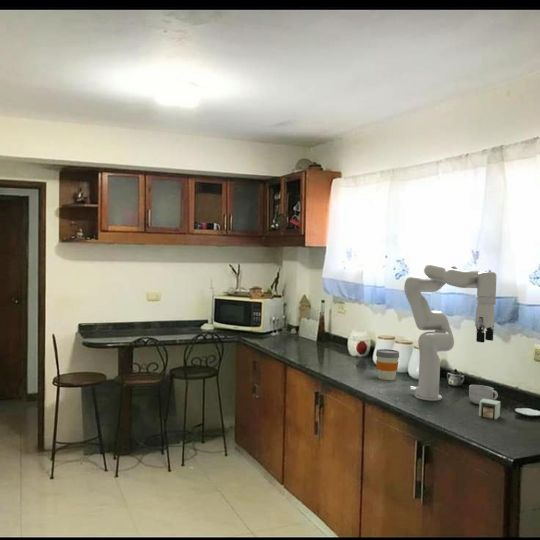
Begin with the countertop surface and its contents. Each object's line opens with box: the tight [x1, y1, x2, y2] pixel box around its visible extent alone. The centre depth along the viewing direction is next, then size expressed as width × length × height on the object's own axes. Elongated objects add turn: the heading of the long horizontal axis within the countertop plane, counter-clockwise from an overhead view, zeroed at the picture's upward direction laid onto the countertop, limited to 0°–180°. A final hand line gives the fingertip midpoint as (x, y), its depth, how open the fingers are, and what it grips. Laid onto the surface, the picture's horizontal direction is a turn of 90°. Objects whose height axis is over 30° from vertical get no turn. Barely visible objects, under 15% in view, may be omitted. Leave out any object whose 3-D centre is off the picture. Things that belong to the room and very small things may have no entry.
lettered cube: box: [482, 406, 495, 419], centre depth 246 cm, size 4×4×4 cm
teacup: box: [468, 384, 499, 405], centre depth 267 cm, size 14×11×8 cm
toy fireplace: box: [478, 398, 501, 420], centre depth 247 cm, size 7×6×6 cm
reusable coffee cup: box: [375, 348, 400, 381], centre depth 315 cm, size 13×13×15 cm
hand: (484, 341), depth 244 cm, fingers open, 9 cm apart
